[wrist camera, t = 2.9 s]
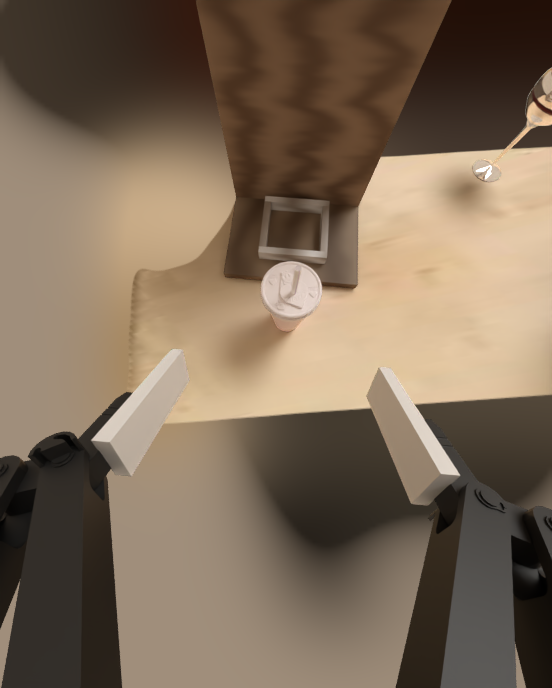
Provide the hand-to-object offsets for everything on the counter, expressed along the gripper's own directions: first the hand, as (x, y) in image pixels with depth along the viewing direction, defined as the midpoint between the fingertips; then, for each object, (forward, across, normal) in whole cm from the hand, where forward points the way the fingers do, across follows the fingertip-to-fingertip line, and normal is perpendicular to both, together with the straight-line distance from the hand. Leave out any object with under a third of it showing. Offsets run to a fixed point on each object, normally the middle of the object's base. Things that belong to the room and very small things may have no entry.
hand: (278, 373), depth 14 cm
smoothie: (+17, +1, -4) cm, 17 cm away
